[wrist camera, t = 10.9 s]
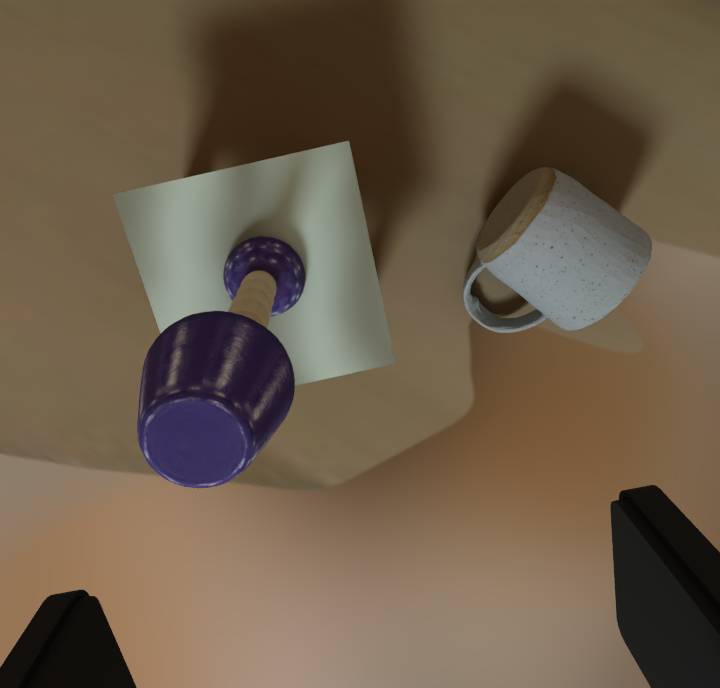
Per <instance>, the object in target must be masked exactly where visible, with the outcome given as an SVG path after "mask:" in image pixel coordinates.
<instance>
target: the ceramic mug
mask: <svg viewBox="0 0 720 688" xmlns="http://www.w3.org/2000/svg"><path fill="white" fill-rule="evenodd" d="M476 249H477V255H478V258H479V259H478V260H477V261H475V262H474V263H473V265H472V266H471V268H470V270H469V272H468V273H467V275H466V278H465V282H464V286H463V301H464V304H465V307H466V310H467V311H468V312H469V314H470V315H471V317H472V318H473V319H474V320H475V321H477V322H478V323H479V324H480V325H482V326H484V327H485V328H487V329H489V330H492V331H495V332H501V333H510V332H517V331H522V330H525V329H528V328H531V327H533V326H535V325H537V324H539V323H540V322H542V321H544V320H545V319H547V318H549V319H550V320H551V321H553V322H554V323H555V324H556V325H558V326H559V327H561V328H563V329H566V330H577V329H582V328H584V327H587V326H589V325H591V324H593V323H595V322H597V321H598V320H599V319H601V318H602V317H604V316H605V315H607V314H608V313H609V312H610V311H612V310H613V309H614V308H615V307H617V306H618V304H620V303H621V302H622V300H623V299H624V298H625V297H626V296H627V295H628V294H629V293H630V292H631V291H632V290H633V288H634V287H635V285H636V283H637V282H638V281H639V279H640V278H641V276H642V275H643V273H644V271H645V269H646V267H647V265H648V263H649V260H650V256H651V250H652V243H651V239H650V237H649V235H648V234H647V233H646V232H645V231H644V230H643V229H642V228H640V227H639V226H637V225H636V224H634V223H633V222H631V221H630V220H629V219H627V218H626V217H625V216H623V215H622V214H621V213H619V212H618V211H617V210H616V209H614V208H613V207H611V206H610V205H609V204H607V203H606V202H604V201H603V200H602V199H600V198H599V197H597V196H596V195H594V194H593V193H591V192H590V191H589V190H588V189H586V188H585V187H584V186H583V185H581V184H580V183H579V182H577V181H576V180H575V179H573V178H572V177H570V176H568V175H566V174H564V173H562V172H560V171H558V170H556V169H554V168H551V167H541V168H537V169H535V170H532V171H530V172H529V173H527V174H526V175H525V176H523V177H522V178H521V179H520V180H519V181H518V182H517V183H516V184H515V185H514V186H513V187H512V188H511V189H510V190H509V191H508V192H507V193H506V194H505V196H504V197H503V198H502V199H501V200H500V202H499V203H498V204H497V206H496V207H495V208H494V210H493V211H492V213H491V214H490V216H489V217H488V219H487V221H486V222H485V224H484V226H483V228H482V230H481V232H480V234H479V237H478V239H477V246H476ZM485 267H486V268H487V269H488V270H489V271H490V272H491V273H492V274H493V275H495V276H496V277H497V278H498V279H499V280H501V281H502V282H504V283H505V284H507V285H508V286H509V287H511V288H512V289H513V290H514V291H516V292H517V293H518V294H520V295H521V296H522V297H523V298H524V299H525V300H527V301H528V302H529V303H530V304H531V305H533V306H534V307H535V308H536V310H534V311H532V312H530V313H528V314H526V315H523V316H521V317H518V318H510V319H509V318H505V319H504V318H500V317H498V316H494V315H493V314H492V313H491V312H490V311H488V310H487V309H486V308H485V307H484V306H483V305H482V304H481V303H480V302H479V300H478V298H477V297H475V296H473V295H472V294H471V292H470V289H471V284H472V282H473V281H474V279H475V278H476V276H477V275H478V274H479V273H480V272H481V271H482V269H483V268H485Z"/></svg>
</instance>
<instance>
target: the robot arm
mask: <svg viewBox="0 0 720 688" xmlns="http://www.w3.org/2000/svg"><path fill="white" fill-rule="evenodd" d="M611 525H612V542H613V560H614V577H615V595H616V613H617V621H618V626H619V629H620V632H621V635H622V637H623V639H624V641H625V643H626V645H627V647H628V648H629V650H630V652H631V654H632V655H633V657H634V659H635V661H636V662H637V664H638V666H639V667H640V669H641V671H642V673H643V675H644V676H645V678H646V680H647V681H648V683H649V685H650V687H651V688H720V552H719V551H718V550H717V549H716V548H715V547H714V546H713V545H712V544H711V543H710V542H709V541H708V540H707V538H706V537H705V536H704V535H703V534H702V533H701V532H700V531H699V530H698V529H697V528H696V527H695V526H694V525H693V524H692V522H691V521H690V520H689V519H688V518H687V517H686V516H685V515H684V514H683V513H682V512H681V511H680V510H679V509H678V507H677V506H676V505H675V504H674V503H673V502H672V501H671V500H670V499H669V498H668V497H667V496H666V495H665V494H664V493H663V492H662V490H661V489H660V488H658V487H657V486H655V485H650V486H645V487H639V488H634V489H628V490H623V491H621V492H620V495H619V500H616V501H613V502H611ZM0 688H136V685H135V683H134V681H133V678H132V676H131V674H130V671H129V669H128V667H127V665H126V662H125V660H124V658H123V656H122V653H121V651H120V648H119V646H118V644H117V642H116V639H115V637H114V635H113V633H112V630H111V628H110V626H109V623H108V621H107V619H106V616H105V614H104V612H103V610H102V607H101V605H100V603H99V601H98V599H97V598H96V597H95V596H89V594H88V593H87V592H86V591H85V590H77V591H71V592H66V593H60V594H54V595H51V596H49V597H47V598H46V600H45V601H44V602H43V603H42V605H41V606H40V608H39V609H38V611H37V612H36V614H35V615H34V617H33V618H32V620H31V622H30V623H29V625H28V626H27V628H26V629H25V631H24V632H23V634H22V635H21V637H20V639H19V640H18V642H17V643H16V644H15V646H14V648H13V649H12V651H11V652H10V654H9V655H8V657H7V658H6V660H5V661H4V663H3V664H2V666H1V667H0Z"/></svg>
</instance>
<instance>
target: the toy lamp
mask: <svg viewBox="0 0 720 688" xmlns="http://www.w3.org/2000/svg"><path fill="white" fill-rule="evenodd" d="M223 279H224V285H225V288H226V291H227V293H228V295H229V297H230V298H231V300H232V303H231V307H230V309H229V310H228V312H225V311H210V312H201V313H196V314H191V315H189V316H186V317H184V318H182V319H180V320H178V321H176V322H175V323H173V324H172V325H170V326H169V327H167V328H166V329H165V330H164V331H163V332H162V333H161V334H160V335H159V336H158V337H157V339H156V340H155V341H154V343H153V344H152V346H151V348H150V349H149V351H148V354H147V356H146V359H145V362H144V366H143V372H142V379H141V388H140V398H139V412H138V422H137V432H138V441H139V445H140V448H141V451H142V453H143V456H144V457H145V459H146V461H147V462H148V464H149V465H150V466H151V467H152V468H153V469H154V470H155V471H156V472H157V473H158V474H160V475H161V476H162V477H163V478H165V479H167V480H169V481H171V482H173V483H175V484H178V485H181V486H185V487H192V488H208V487H213V486H218V485H221V484H224V483H226V482H228V481H230V480H231V479H233V478H235V477H236V476H238V475H239V474H240V473H241V472H243V471H244V470H245V469H246V468H247V467H248V466H249V465H250V464H251V462H252V461H253V460H254V459H255V457H256V456H257V455H258V454H259V452H260V451H261V450H262V449H263V447H264V446H265V445H266V443H267V442H268V441H269V440H270V438H271V437H272V435H273V434H274V433H275V432H276V430H277V429H278V428H279V426H280V425H281V423H282V422H283V421H284V419H285V418H286V416H287V413H288V411H289V409H290V406H291V404H292V401H293V396H294V388H295V378H294V371H293V366H292V363H291V360H290V358H289V356H288V354H287V352H286V350H285V348H284V346H283V344H282V343H281V342H280V341H279V339H278V338H277V337H276V336H275V335H274V334H273V333H272V332H271V331H270V330H268V329H267V328H268V324H269V319H270V317H272V316H277V315H279V314H282V313H284V312H286V311H287V310H289V309H290V308H292V307H293V306H294V305H295V304H296V303H297V301H298V300H299V299H300V297H301V295H302V293H303V290H304V286H305V281H306V280H305V269H304V265H303V262H302V260H301V258H300V256H299V255H298V254H297V252H296V251H295V250H294V249H293V248H292V247H291V246H290V245H289V244H287V243H285V242H283V241H281V240H279V239H276V238H272V237H262V236H260V237H254V238H250V239H248V240H245V241H243V242H241V243H240V244H239V245H237V246H236V247H235V248H234V249H233V250H232V252H231V253H230V255H229V256H228V258H227V260H226V262H225V266H224V272H223Z"/></svg>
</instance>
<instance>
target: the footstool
mask: <svg viewBox="0 0 720 688" xmlns="http://www.w3.org/2000/svg"><path fill="white" fill-rule="evenodd" d="M112 195H113V198H114V200H115V203H116V206H117V209H118V212H119V215H120V218H121V221H122V223H123V226H124V229H125V232H126V235H127V238H128V241H129V244H130V247H131V249H132V252H133V255H134V258H135V261H136V264H137V267H138V270H139V272H140V275H141V278H142V281H143V284H144V287H145V290H146V293H147V295H148V298H149V301H150V304H151V307H152V310H153V313H154V316H155V319H156V321H157V324H158V327H159V330H160V333H162V332H163V331H164V330H165V329H166V328H167V327H169V326H170V325H172V324H173V323H175V322H176V321H178V320H180V319H182V318H184V317H186V316H189V315H191V314H196V313H201V312H210V311H225V312H228V310H229V309H230V307H231V303H232V300H231V298H230V297H229V295H228V293H227V291H226V288H225V285H224V279H223V272H224V266H225V262H226V260H227V258H228V256H229V255H230V253H231V252H232V250H233V249H234V248H235V247H236V246H237V245H239V244H240V243H241V242H243V241H245V240H248V239H250V238H254V237H260V236H262V237H272V238H276V239H279V240H281V241H283V242H285V243H287V244H289V245H290V246H291V247H292V248H293V249H294V250H295V251H296V252H297V254H298V255H299V256H300V258H301V260H302V262H303V265H304V269H305V280H306V281H305V286H304V290H303V293H302V295H301V297H300V299H299V300H298V301H297V303H296V304H295V305H294V306H293V307H292V308H290V309H289V310H287V311H286V312H284V313H282V314H279V315H277V316H272V317H270V319H269V324H268V328H267V329H268V330H270V331H271V332H272V333H273V334H274V335H275V336H276V337H277V338H278V339H279V341H280V342H281V343H282V344H283V346H284V348H285V350H286V352H287V354H288V356H289V358H290V360H291V363H292V366H293V371H294V378H295V386H296V385H300V384H305V383H309V382H314V381H318V380H323V379H327V378H332V377H337V376H341V375H346V374H350V373H355V372H359V371H364V370H368V369H373V368H377V367H382V366H387V365H391V364H396V363H395V359H394V354H393V349H392V344H391V339H390V335H389V330H388V325H387V320H386V315H385V311H384V306H383V301H382V296H381V291H380V287H379V282H378V277H377V272H376V267H375V263H374V258H373V253H372V248H371V243H370V239H369V234H368V229H367V224H366V219H365V215H364V210H363V205H362V200H361V195H360V191H359V186H358V181H357V176H356V172H355V167H354V162H353V157H352V152H351V148H350V143H349V141H345V142H341V143H336V144H332V145H327V146H323V147H319V148H314V149H310V150H305V151H301V152H297V153H292V154H288V155H284V156H279V157H275V158H270V159H266V160H262V161H257V162H253V163H248V164H244V165H240V166H235V167H231V168H226V169H222V170H218V171H213V172H209V173H205V174H200V175H196V176H191V177H187V178H183V179H178V180H174V181H169V182H165V183H161V184H156V185H152V186H148V187H143V188H139V189H134V190H130V191H126V192H121V193H117V194H112Z"/></svg>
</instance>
